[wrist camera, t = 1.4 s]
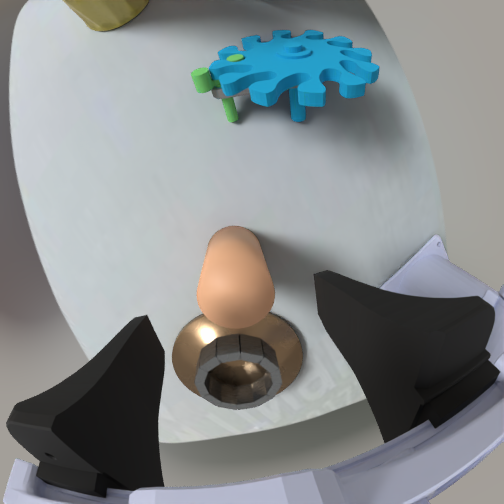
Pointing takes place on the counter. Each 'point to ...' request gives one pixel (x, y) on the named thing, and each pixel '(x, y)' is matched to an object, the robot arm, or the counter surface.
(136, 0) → the vase
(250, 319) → the peg
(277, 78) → the gear
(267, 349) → the ring collar
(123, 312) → the counter surface
